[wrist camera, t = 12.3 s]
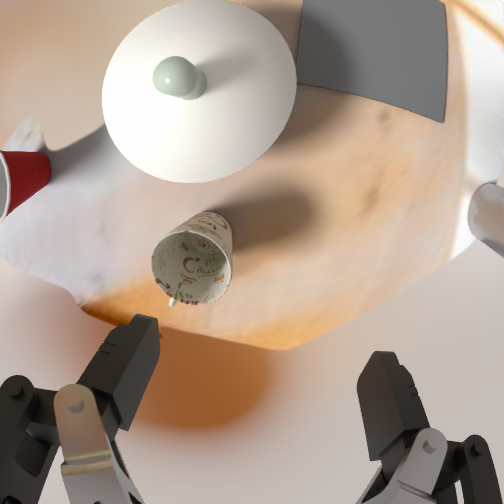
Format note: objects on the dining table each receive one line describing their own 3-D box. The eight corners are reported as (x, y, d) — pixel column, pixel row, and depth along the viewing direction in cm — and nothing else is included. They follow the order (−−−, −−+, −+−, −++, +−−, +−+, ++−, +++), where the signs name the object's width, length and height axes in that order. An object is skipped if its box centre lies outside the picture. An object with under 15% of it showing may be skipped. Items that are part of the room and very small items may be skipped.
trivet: (442, 4, 19) (443, 3, 19) (440, 122, 28) (442, 122, 27) (306, -41, 19) (307, -43, 19) (294, 82, 28) (294, 81, 27)
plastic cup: (69, 144, 32) (10, 158, 21) (57, 210, 36) (5, 240, 25) (27, 128, 30) (-28, 139, 19) (17, 188, 35) (-32, 211, 24)
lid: (303, 8, 18) (311, -19, 13) (282, 190, 26) (286, 207, 21) (119, 14, 19) (91, -3, 13) (104, 177, 27) (71, 190, 21)
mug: (252, 221, 35) (246, 255, 26) (212, 295, 40) (197, 341, 31) (192, 191, 34) (165, 215, 25) (160, 269, 39) (132, 310, 30)
